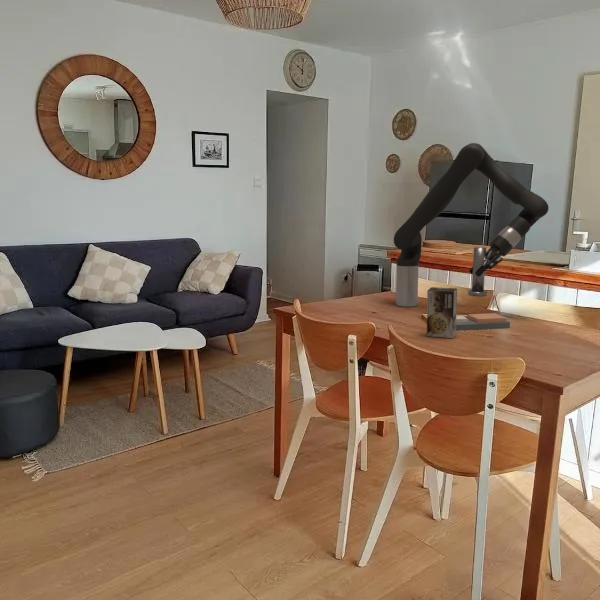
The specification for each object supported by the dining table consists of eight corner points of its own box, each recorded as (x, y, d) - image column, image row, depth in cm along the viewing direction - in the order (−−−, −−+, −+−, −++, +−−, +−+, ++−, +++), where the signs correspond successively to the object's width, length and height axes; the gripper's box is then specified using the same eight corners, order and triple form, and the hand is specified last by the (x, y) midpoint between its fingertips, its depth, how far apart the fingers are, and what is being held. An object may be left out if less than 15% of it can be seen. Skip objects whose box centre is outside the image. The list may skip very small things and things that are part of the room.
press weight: (465, 293, 224) (467, 246, 220) (481, 292, 225) (484, 246, 221) (473, 296, 217) (475, 248, 213) (490, 296, 218) (492, 248, 215)
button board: (440, 324, 214) (440, 319, 214) (496, 321, 217) (496, 316, 217) (451, 330, 204) (451, 325, 204) (509, 327, 208) (510, 322, 207)
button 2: (467, 319, 214) (468, 314, 214) (494, 318, 216) (495, 313, 216) (477, 324, 207) (478, 319, 206) (505, 323, 208) (505, 317, 208)
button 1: (448, 321, 212) (448, 316, 211) (461, 321, 212) (461, 315, 212) (454, 324, 207) (454, 319, 206) (467, 324, 208) (467, 318, 207)
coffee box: (456, 334, 200) (458, 288, 196) (452, 338, 194) (454, 291, 191) (429, 331, 203) (431, 286, 200) (425, 336, 198) (427, 289, 194)
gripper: (490, 232, 224) (459, 264, 225) (509, 236, 211) (476, 270, 211) (502, 246, 226) (471, 277, 227) (521, 250, 213) (488, 283, 213)
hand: (473, 273), depth 219 cm, fingers closed on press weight, 4 cm apart
